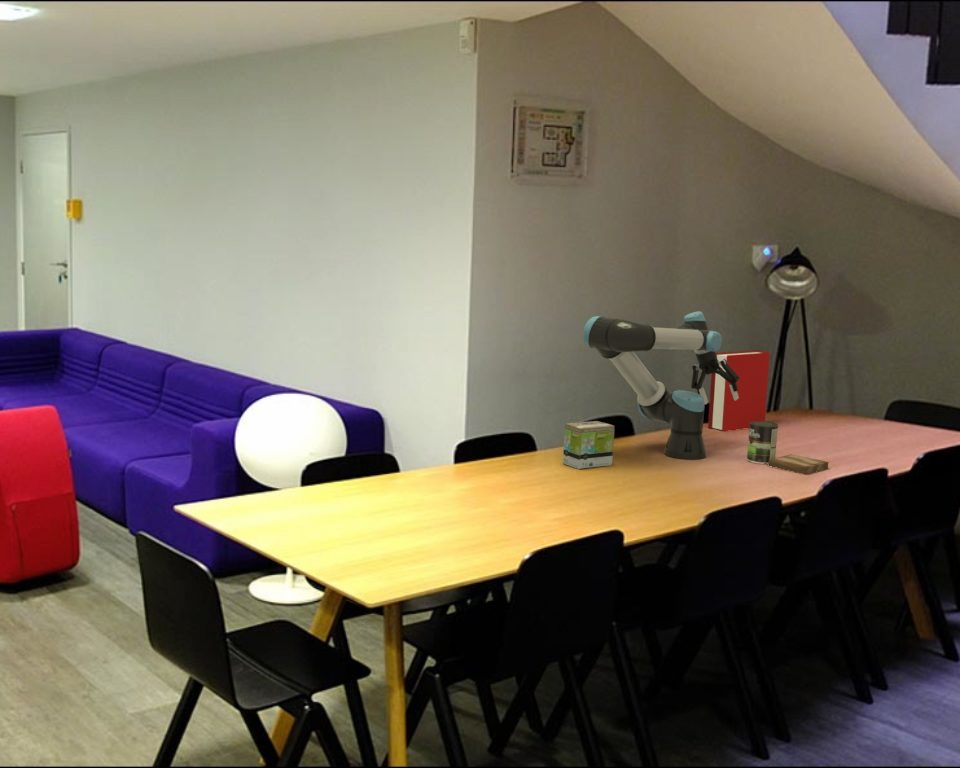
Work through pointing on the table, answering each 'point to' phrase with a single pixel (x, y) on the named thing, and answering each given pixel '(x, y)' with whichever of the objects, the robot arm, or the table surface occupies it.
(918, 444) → the table surface
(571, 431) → the tea box
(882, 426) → the table surface
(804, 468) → the walnut board
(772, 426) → the coffee can
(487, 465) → the table surface
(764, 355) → the book
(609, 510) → the table surface
